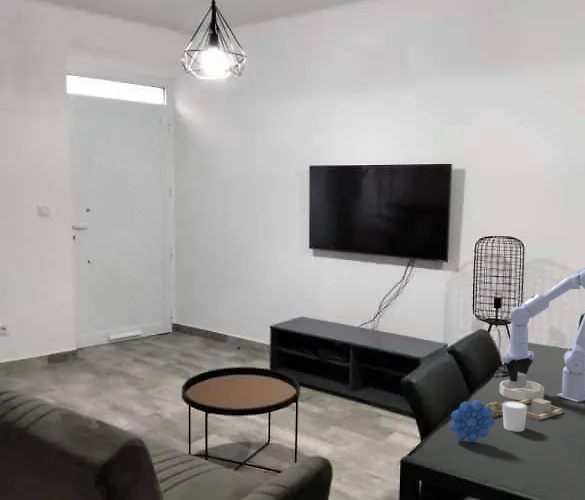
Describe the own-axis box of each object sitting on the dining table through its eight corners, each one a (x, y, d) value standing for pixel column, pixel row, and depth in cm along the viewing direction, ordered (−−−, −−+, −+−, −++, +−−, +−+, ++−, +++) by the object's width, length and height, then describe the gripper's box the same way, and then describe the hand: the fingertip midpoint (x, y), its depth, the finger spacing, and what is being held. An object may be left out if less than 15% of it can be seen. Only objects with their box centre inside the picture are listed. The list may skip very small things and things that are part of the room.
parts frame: (529, 401, 196) (529, 398, 196) (562, 412, 185) (563, 409, 185) (505, 408, 189) (505, 404, 189) (538, 420, 179) (538, 416, 179)
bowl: (517, 385, 213) (517, 377, 213) (552, 396, 201) (552, 387, 201) (491, 392, 206) (491, 383, 206) (526, 403, 194) (526, 394, 194)
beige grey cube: (539, 410, 188) (539, 398, 188) (550, 414, 185) (551, 401, 184) (531, 412, 186) (531, 400, 186) (542, 416, 183) (543, 404, 182)
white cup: (526, 425, 175) (526, 402, 175) (527, 433, 169) (527, 409, 168) (501, 422, 177) (502, 399, 177) (501, 430, 171) (502, 407, 170)
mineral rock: (483, 398, 193) (507, 397, 188) (486, 412, 192) (510, 410, 187) (470, 409, 184) (495, 407, 179) (474, 422, 184) (499, 421, 179)
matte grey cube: (516, 382, 209) (517, 371, 208) (526, 385, 205) (526, 374, 205) (509, 384, 206) (509, 373, 206) (518, 387, 203) (519, 376, 203)
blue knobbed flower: (494, 439, 165) (495, 397, 164) (493, 448, 158) (494, 405, 158) (451, 433, 169) (452, 392, 168) (448, 442, 162) (449, 400, 162)
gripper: (522, 336, 212) (521, 373, 213) (495, 341, 204) (494, 380, 205) (539, 340, 206) (538, 378, 207) (512, 346, 198) (511, 385, 199)
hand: (517, 380), depth 206 cm, fingers closed on matte grey cube, 4 cm apart
